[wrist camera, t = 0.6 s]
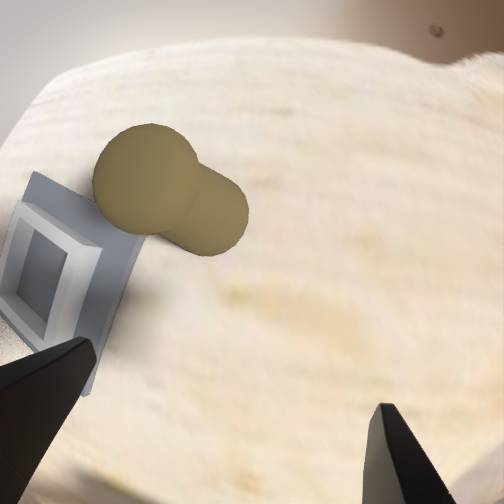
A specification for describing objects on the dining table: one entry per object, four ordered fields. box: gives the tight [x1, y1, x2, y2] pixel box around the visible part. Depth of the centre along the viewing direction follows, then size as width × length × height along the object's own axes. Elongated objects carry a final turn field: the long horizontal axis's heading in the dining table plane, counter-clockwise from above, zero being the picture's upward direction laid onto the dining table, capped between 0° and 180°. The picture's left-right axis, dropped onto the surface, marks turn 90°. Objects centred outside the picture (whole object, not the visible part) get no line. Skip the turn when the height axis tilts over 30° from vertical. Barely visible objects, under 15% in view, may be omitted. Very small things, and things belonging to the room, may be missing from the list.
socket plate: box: [0, 171, 146, 397], centre depth 24 cm, size 16×16×4 cm
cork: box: [92, 123, 249, 256], centre depth 17 cm, size 6×6×11 cm
